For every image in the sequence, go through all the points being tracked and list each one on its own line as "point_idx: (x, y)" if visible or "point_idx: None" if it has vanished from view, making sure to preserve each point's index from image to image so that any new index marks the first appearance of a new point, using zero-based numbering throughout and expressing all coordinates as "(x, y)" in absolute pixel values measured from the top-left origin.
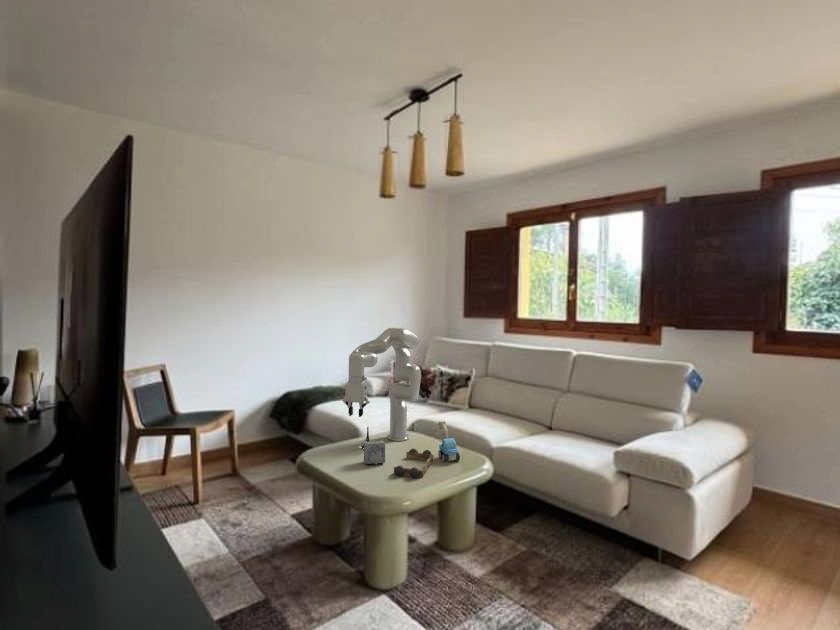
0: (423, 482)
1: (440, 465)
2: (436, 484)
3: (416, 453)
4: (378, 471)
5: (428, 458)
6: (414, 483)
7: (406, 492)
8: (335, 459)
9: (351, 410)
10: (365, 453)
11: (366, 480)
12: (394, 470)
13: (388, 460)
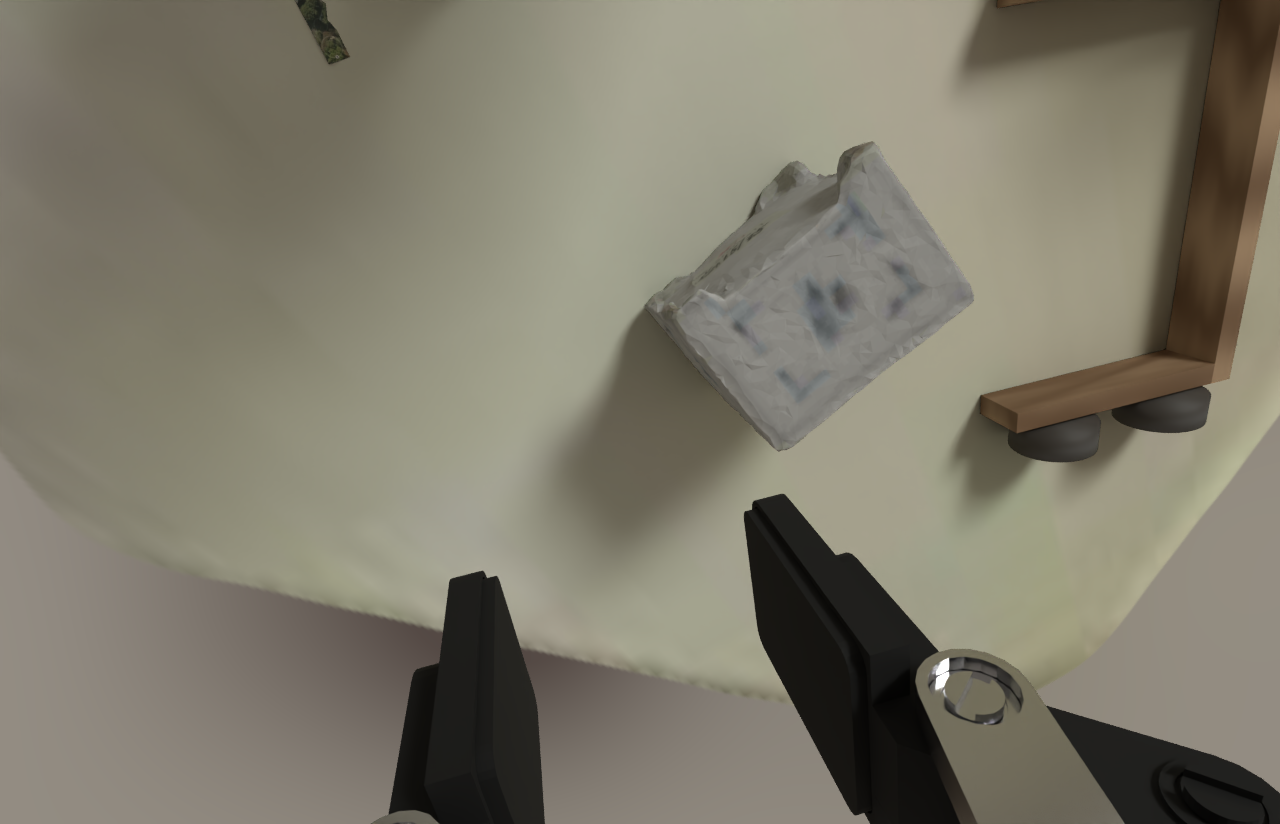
0: None
1: None
2: (1265, 413)
3: None
4: (858, 428)
5: (1272, 70)
6: (1137, 471)
7: (1108, 592)
8: (362, 396)
9: (526, 778)
10: (735, 406)
11: None
12: (1021, 453)
13: None
